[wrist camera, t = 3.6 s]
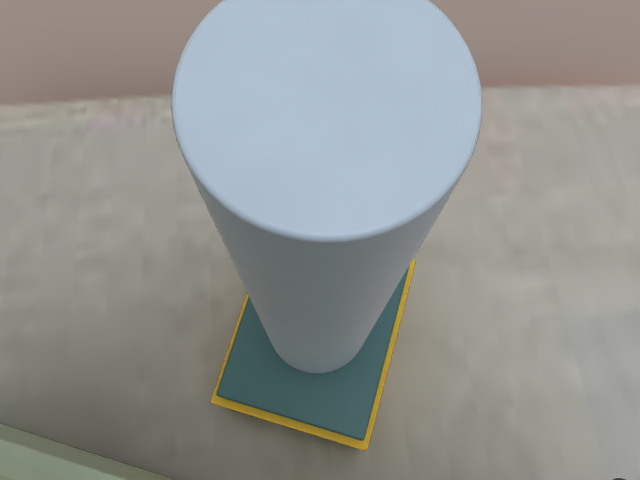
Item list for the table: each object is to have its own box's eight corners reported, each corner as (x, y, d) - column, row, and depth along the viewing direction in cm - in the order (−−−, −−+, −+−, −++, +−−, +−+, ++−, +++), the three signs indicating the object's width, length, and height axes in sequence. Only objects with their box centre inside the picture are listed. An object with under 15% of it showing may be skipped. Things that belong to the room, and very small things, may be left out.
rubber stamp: (359, 448, 17) (523, 512, 4) (224, 406, 17) (-64, 329, 4) (402, 282, 19) (632, -97, 5) (277, 246, 19) (191, -200, 6)
